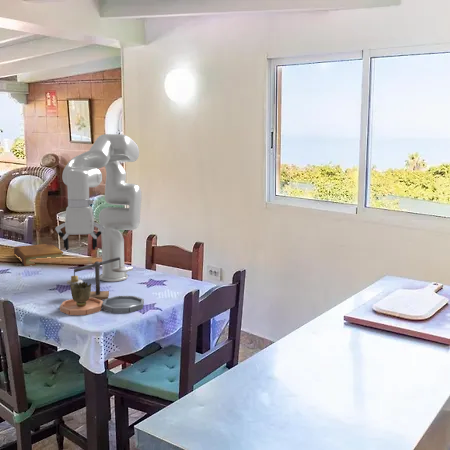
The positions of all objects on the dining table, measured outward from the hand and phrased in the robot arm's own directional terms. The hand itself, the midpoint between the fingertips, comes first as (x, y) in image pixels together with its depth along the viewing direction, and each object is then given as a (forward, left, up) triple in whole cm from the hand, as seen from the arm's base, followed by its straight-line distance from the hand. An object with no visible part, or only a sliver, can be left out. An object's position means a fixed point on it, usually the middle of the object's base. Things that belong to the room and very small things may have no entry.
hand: (80, 249), depth 197 cm
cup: (+3, +4, -20) cm, 21 cm away
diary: (-25, -76, -22) cm, 83 cm away
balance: (-9, -3, -21) cm, 23 cm away
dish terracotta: (+3, +4, -21) cm, 22 cm away
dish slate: (-9, +13, -21) cm, 27 cm away
